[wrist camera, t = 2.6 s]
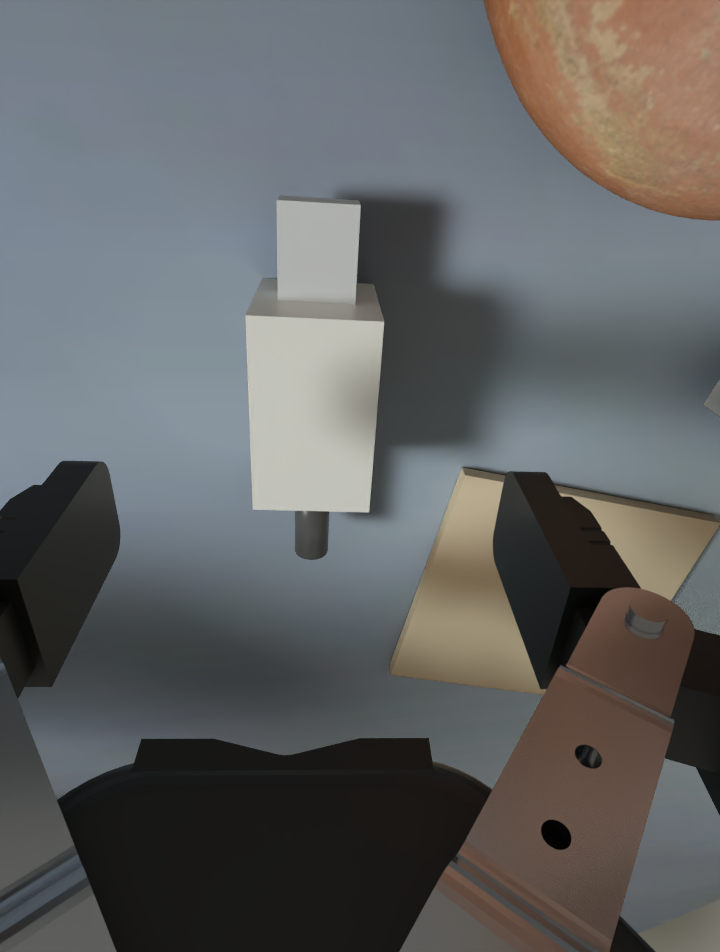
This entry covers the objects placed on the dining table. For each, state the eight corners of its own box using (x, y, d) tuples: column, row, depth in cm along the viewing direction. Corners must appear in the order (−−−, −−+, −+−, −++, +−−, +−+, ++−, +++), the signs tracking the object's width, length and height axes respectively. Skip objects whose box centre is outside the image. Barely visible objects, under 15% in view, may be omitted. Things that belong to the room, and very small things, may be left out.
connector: (357, 516, 24) (362, 590, 20) (267, 514, 24) (255, 589, 20) (379, 196, 18) (392, 214, 14) (260, 189, 18) (241, 205, 14)
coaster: (600, 692, 30) (604, 702, 30) (389, 665, 28) (390, 675, 28) (712, 515, 25) (720, 523, 24) (461, 467, 23) (465, 474, 23)
